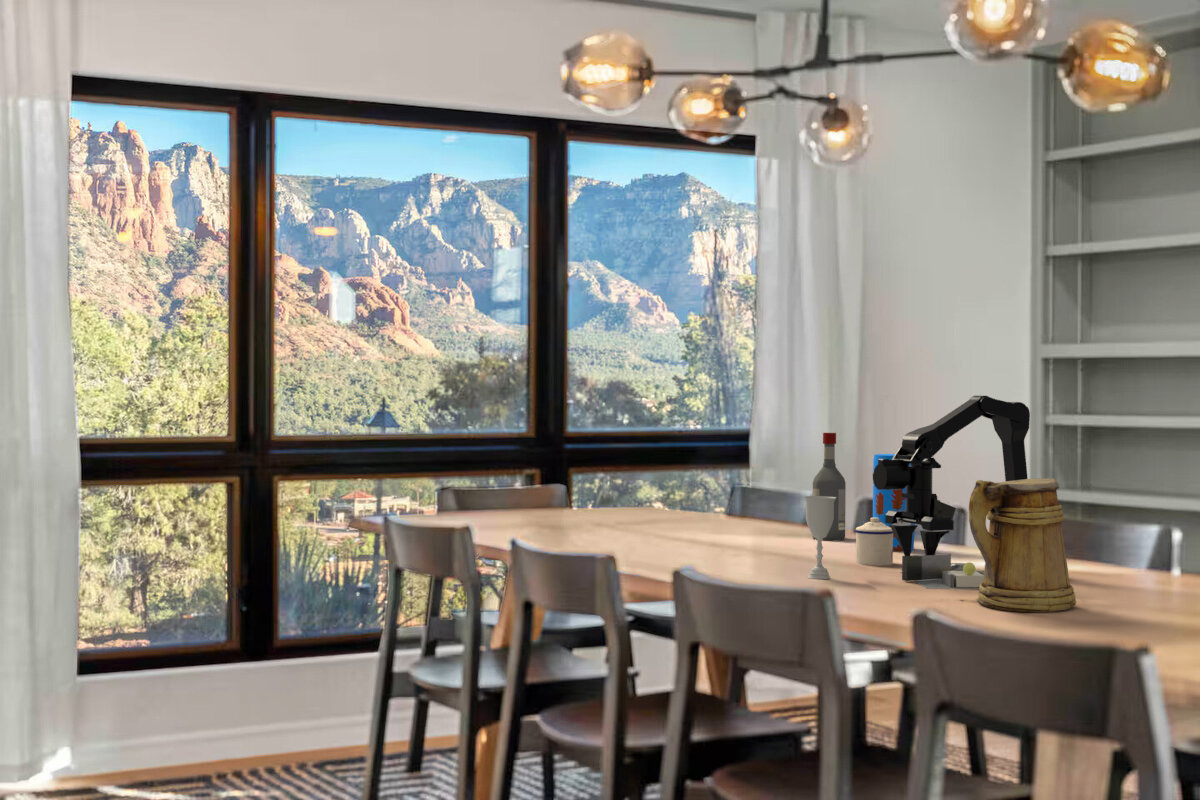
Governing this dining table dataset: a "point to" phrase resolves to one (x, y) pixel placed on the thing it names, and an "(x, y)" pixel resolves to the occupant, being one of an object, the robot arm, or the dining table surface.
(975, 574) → the cam foot
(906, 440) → the robot arm
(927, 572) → the cam capstan
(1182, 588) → the dining table surface
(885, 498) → the thermos
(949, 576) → the level stand
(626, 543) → the dining table surface
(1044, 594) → the tankard
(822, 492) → the liquor
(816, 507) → the chalice
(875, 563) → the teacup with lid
